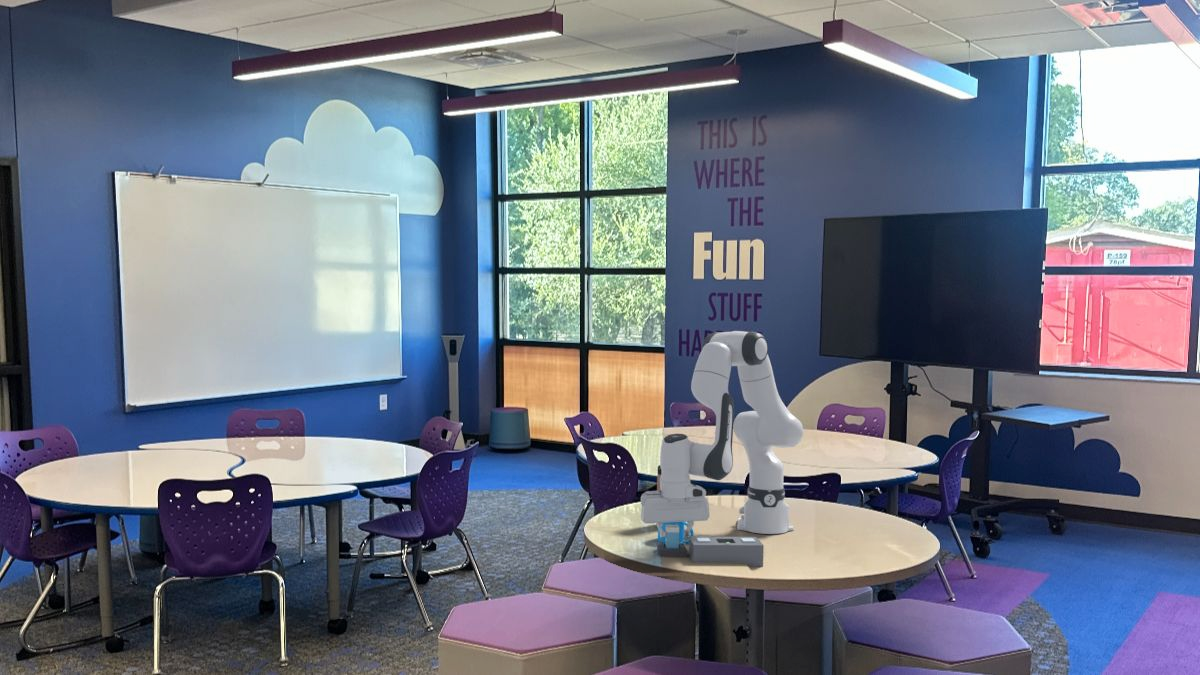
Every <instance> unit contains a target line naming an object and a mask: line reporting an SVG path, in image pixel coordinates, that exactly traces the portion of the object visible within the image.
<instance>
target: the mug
mask: <svg viewBox="0 0 1200 675" xmlns="http://www.w3.org/2000/svg"><path fill="white" fill-rule="evenodd" d="M666 525H678V526H679V543H684V544H689V538H688V539H687V540H685V536H684V529H685V526H686V528H687V527H688V525H689V524H688V523H687V522H667V523H663V526H661V528H662V530H665V531H666ZM690 536H692V537H694V529H693V528H692V529H691V530H690ZM657 541H658V542H659V543H665V538H661V537H660V530H659V529H658V528H657Z"/></svg>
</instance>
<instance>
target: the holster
mask: <svg viewBox="0 0 1200 675" xmlns="http://www.w3.org/2000/svg"><path fill="white" fill-rule="evenodd" d="M656 551H657V553H658V556H659V558H688V549H687V547H686V543H682V542H681V543H679V548H665V543H664V542H657V543H656Z"/></svg>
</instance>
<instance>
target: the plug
mask: <svg viewBox="0 0 1200 675" xmlns="http://www.w3.org/2000/svg"><path fill="white" fill-rule="evenodd" d="M665 548H679V526H678V525H666V537H665Z"/></svg>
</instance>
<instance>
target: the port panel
mask: <svg viewBox="0 0 1200 675" xmlns="http://www.w3.org/2000/svg"><path fill="white" fill-rule="evenodd" d="M688 539H689V542H688V554H689V557H690V559H691V561H692V563H698V564H699V563H702V564H703V563H705V564H709V563H711V564H712V563H713V564H714V563H717V564H718V563H719V564H721V563H724V564H726V563H728V564H729V563H730V564H735V563H736V564H737V563H738V564H746V565H747V567H764V544H763V543H762V541H760V539H759V538H758V536H693V537H692V536H688Z"/></svg>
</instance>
